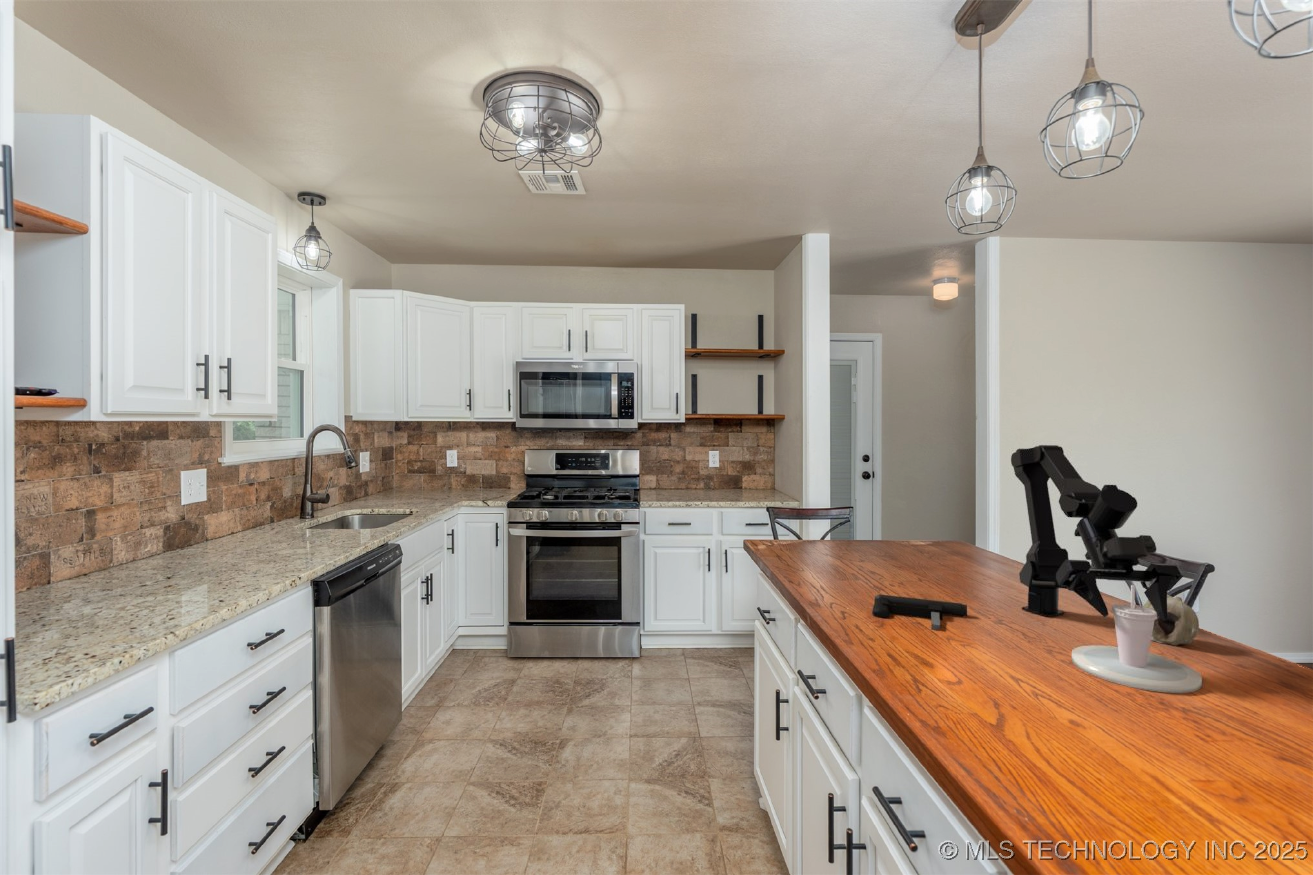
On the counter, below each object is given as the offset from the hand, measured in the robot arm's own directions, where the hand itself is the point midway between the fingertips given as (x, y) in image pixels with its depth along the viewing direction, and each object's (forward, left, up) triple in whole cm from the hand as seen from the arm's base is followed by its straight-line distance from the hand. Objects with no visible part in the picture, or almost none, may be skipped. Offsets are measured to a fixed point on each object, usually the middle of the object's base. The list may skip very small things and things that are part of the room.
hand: (1135, 617), depth 105 cm
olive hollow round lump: (-24, -5, -10) cm, 27 cm away
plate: (0, 0, -10) cm, 10 cm away
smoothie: (0, 0, -9) cm, 8 cm away
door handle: (+10, -38, -10) cm, 40 cm away
